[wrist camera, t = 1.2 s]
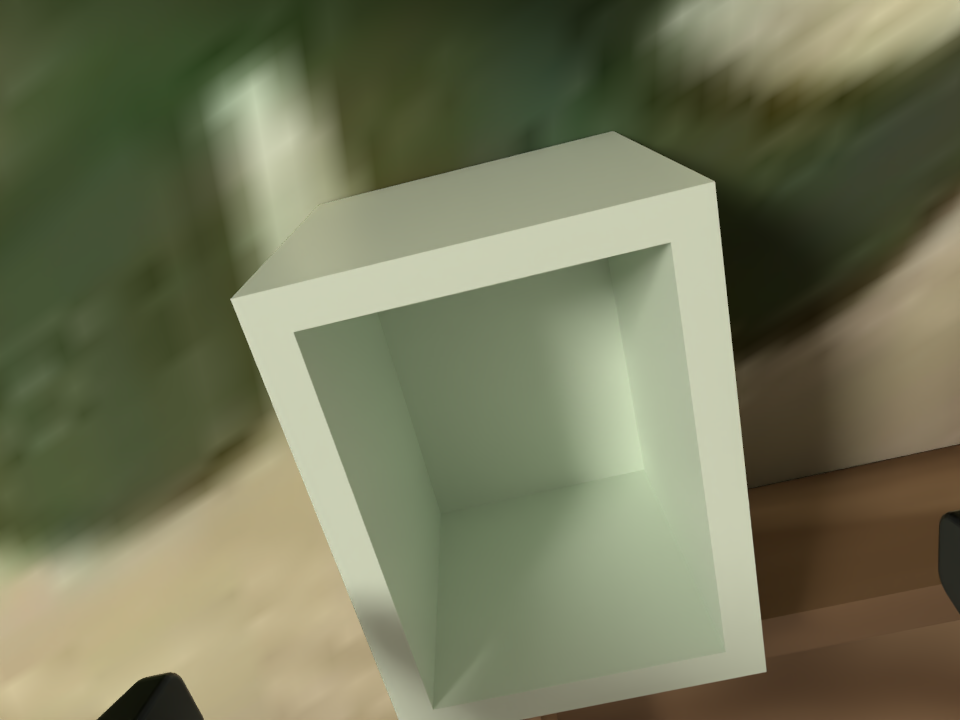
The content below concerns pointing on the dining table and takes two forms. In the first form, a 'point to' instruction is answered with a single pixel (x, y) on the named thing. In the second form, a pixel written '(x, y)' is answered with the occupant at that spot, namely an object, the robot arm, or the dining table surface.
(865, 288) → the dining table surface
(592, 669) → the small crate
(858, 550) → the crate
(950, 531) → the robot arm
